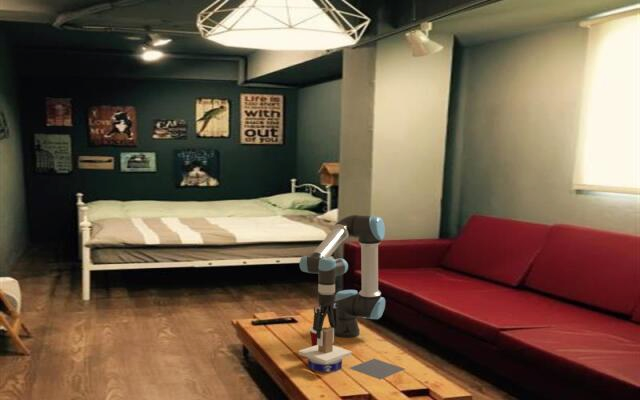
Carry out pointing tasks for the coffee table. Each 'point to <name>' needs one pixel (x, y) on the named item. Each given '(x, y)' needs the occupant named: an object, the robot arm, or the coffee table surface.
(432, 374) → the coffee table surface
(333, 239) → the robot arm
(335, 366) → the dog bowl
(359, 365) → the mat
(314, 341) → the plastic cup
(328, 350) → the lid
